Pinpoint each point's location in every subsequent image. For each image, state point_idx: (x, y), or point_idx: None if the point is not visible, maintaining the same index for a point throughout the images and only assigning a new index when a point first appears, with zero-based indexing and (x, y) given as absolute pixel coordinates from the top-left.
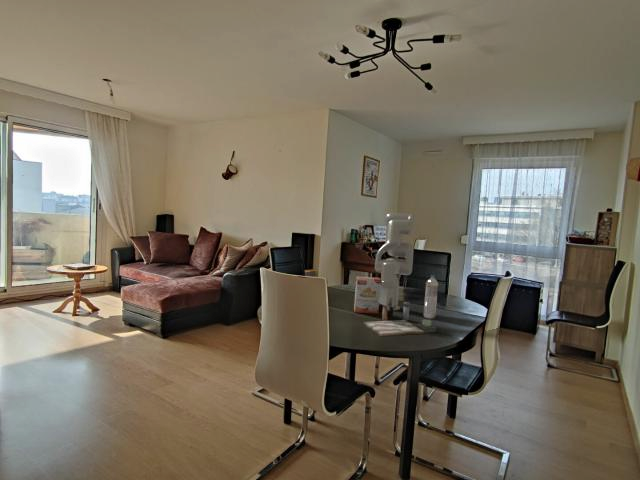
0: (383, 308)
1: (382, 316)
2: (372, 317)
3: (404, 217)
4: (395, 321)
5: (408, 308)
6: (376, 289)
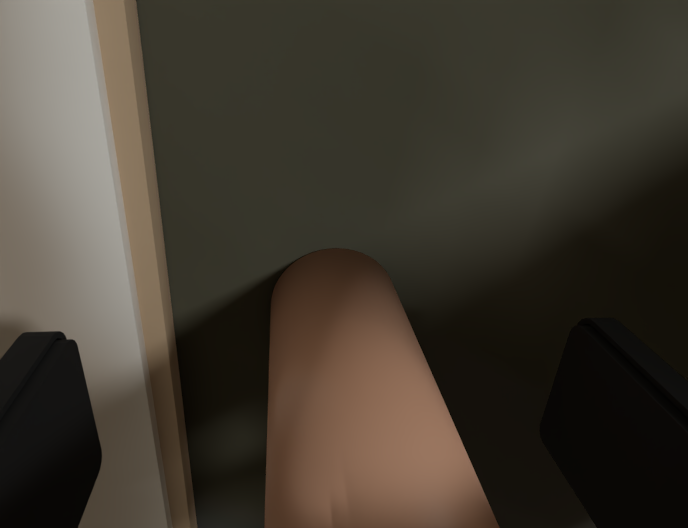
0: (379, 511)
1: (354, 298)
2: (623, 149)
3: None
4: None
5: None
6: None
